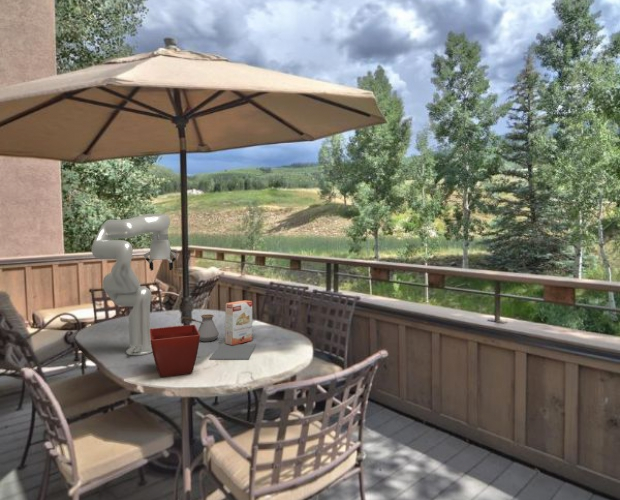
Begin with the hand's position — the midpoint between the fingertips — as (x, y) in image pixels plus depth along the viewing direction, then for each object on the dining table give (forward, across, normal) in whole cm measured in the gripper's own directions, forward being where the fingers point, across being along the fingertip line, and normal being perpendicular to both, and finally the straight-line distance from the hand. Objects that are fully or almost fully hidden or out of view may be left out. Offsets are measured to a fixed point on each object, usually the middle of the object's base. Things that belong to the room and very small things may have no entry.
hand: (161, 270), depth 232 cm
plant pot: (+36, +17, -51) cm, 65 cm away
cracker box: (+36, +41, -14) cm, 57 cm away
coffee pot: (+37, +21, -9) cm, 43 cm away
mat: (+36, +40, -29) cm, 61 cm away
